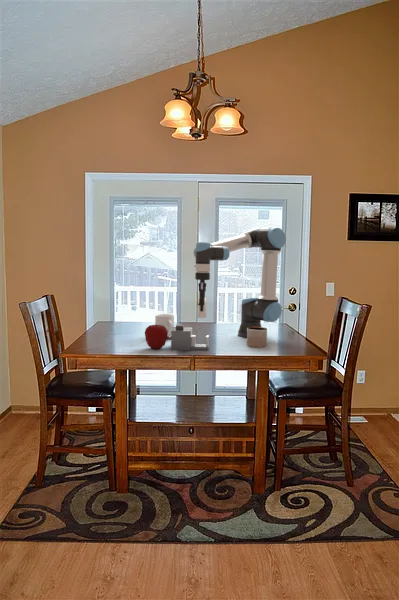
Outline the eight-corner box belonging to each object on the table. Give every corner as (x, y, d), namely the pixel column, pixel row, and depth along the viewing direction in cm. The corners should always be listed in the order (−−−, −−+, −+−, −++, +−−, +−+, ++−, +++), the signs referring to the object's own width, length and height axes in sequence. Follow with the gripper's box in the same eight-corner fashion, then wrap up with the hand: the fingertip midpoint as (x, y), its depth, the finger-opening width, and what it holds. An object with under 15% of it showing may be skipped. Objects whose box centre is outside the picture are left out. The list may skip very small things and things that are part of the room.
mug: (180, 339, 276) (181, 316, 274) (164, 340, 270) (164, 318, 268) (168, 334, 288) (168, 313, 287) (151, 336, 282) (151, 314, 281)
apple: (148, 351, 241) (148, 325, 240) (142, 347, 252) (141, 322, 250) (171, 349, 246) (171, 324, 245) (163, 345, 257) (163, 321, 255)
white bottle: (206, 316, 252) (206, 294, 250) (205, 317, 247) (206, 294, 246) (197, 316, 252) (198, 293, 251) (197, 317, 248) (197, 294, 246)
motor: (208, 346, 257) (209, 324, 256) (208, 350, 246) (208, 327, 244) (168, 344, 259) (168, 323, 257) (165, 349, 247) (165, 326, 245)
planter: (261, 348, 254) (262, 330, 252) (243, 346, 259) (243, 328, 258) (269, 345, 263) (270, 327, 262) (252, 342, 268) (252, 325, 267)
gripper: (196, 271, 256) (195, 314, 259) (194, 272, 239) (193, 319, 241) (210, 271, 256) (209, 314, 258) (209, 273, 238) (208, 319, 241)
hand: (201, 316), depth 250 cm, fingers closed on white bottle, 4 cm apart
